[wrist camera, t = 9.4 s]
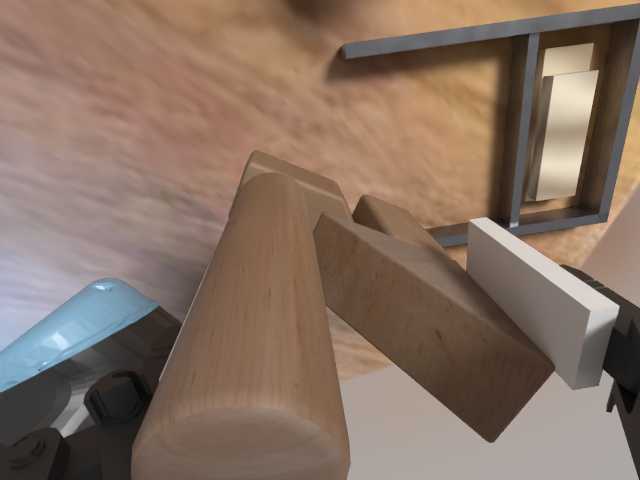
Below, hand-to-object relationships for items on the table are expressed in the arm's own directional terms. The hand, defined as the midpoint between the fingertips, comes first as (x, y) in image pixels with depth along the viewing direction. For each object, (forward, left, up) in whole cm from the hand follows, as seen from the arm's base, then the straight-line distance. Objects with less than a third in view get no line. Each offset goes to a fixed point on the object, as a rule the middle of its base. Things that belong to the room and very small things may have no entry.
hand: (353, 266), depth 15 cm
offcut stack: (-1, -27, -26) cm, 37 cm away
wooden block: (0, 0, -9) cm, 9 cm away
